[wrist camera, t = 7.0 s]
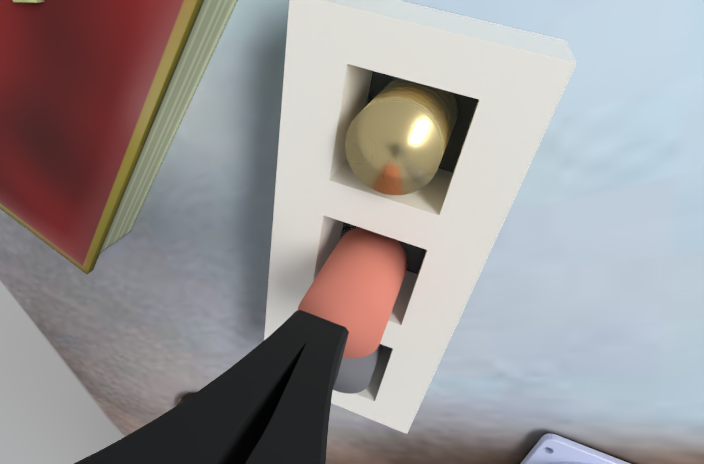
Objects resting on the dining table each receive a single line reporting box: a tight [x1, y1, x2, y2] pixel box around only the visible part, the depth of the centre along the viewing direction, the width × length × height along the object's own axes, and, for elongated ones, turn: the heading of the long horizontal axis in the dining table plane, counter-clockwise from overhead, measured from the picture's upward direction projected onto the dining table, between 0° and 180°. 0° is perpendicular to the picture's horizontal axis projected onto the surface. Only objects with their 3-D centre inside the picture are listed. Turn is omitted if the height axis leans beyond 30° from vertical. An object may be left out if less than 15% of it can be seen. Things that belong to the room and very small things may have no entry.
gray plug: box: [333, 344, 383, 394], centre depth 21 cm, size 3×3×4 cm
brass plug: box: [345, 77, 457, 195], centre depth 15 cm, size 3×3×4 cm
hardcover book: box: [0, 0, 238, 274], centre depth 18 cm, size 12×21×4 cm, turn 143°
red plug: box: [297, 227, 408, 358], centre depth 16 cm, size 3×3×4 cm
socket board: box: [264, 0, 577, 434], centre depth 18 cm, size 18×8×4 cm, turn 170°
